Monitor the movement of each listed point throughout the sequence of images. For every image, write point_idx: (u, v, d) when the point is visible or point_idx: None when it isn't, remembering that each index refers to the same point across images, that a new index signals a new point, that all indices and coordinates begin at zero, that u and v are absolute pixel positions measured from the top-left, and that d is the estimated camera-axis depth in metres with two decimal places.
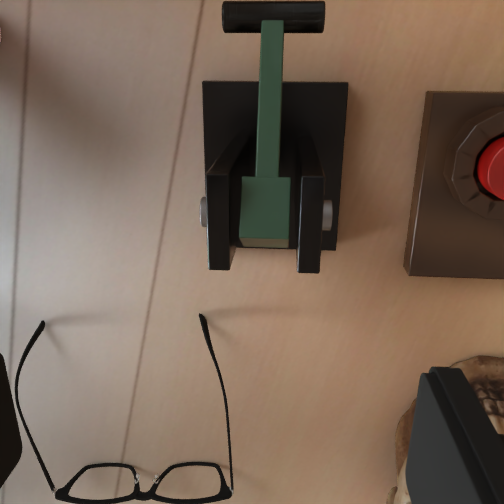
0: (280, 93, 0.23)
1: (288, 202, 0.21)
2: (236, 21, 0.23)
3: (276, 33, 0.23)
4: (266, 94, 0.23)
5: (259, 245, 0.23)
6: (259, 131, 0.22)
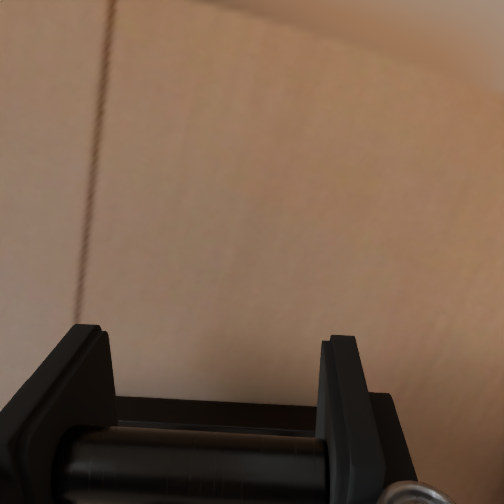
0: None
1: None
2: (92, 502, 0.09)
3: None
4: None
5: None
6: None
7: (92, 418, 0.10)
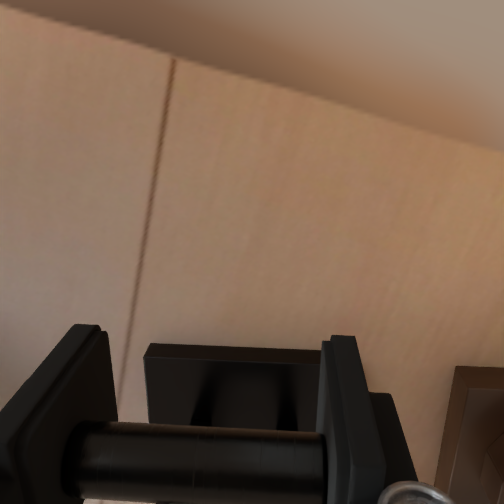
0: None
1: None
2: None
3: None
4: None
5: None
6: None
7: (92, 418, 0.10)
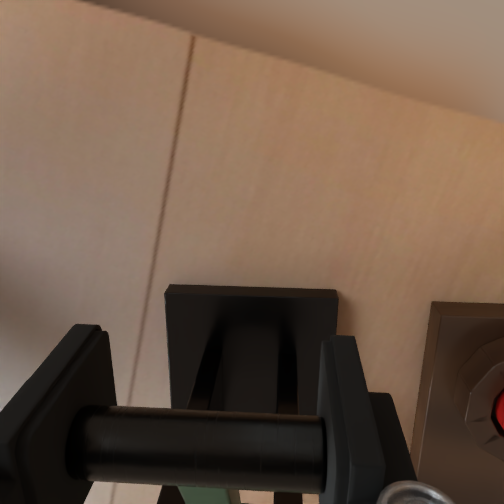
0: None
1: None
2: None
3: (212, 492, 0.10)
4: None
5: None
6: None
7: None
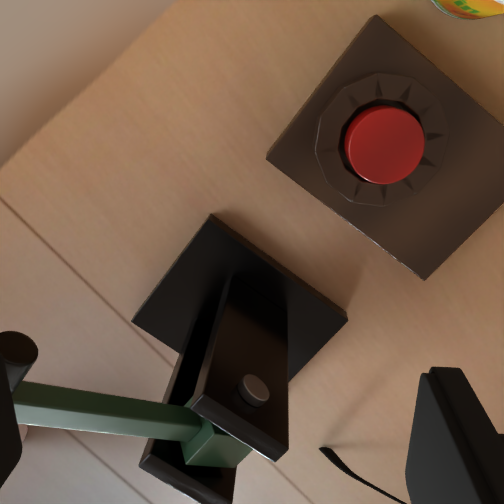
0: (110, 415, 0.18)
1: (234, 437, 0.20)
2: None
3: (23, 410, 0.16)
4: (104, 427, 0.18)
5: None
6: (141, 435, 0.19)
7: None
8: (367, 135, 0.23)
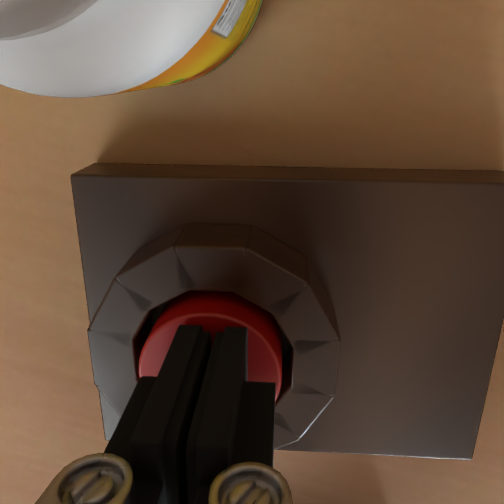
0: None
1: None
2: None
3: None
4: None
5: None
6: None
7: None
8: None
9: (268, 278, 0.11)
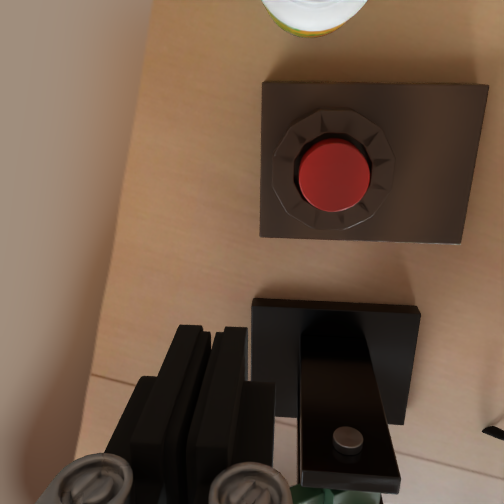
0: None
1: None
2: None
3: None
4: None
5: None
6: None
7: None
8: (312, 180, 0.24)
9: (363, 126, 0.25)
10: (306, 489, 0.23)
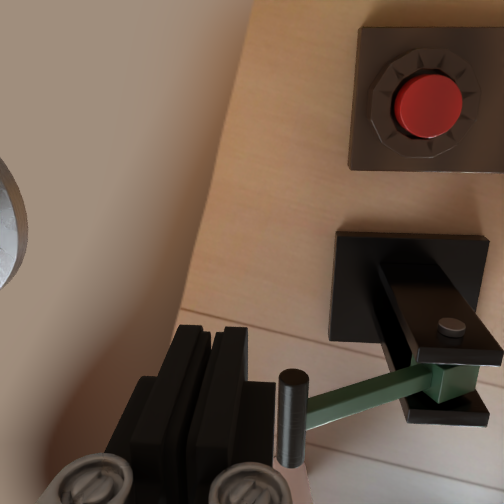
0: (369, 393, 0.25)
1: (459, 366, 0.26)
2: (303, 449, 0.24)
3: (318, 415, 0.23)
4: (370, 403, 0.25)
5: None
6: (396, 398, 0.26)
7: None
8: (412, 109, 0.28)
9: (454, 62, 0.28)
10: (416, 370, 0.26)
